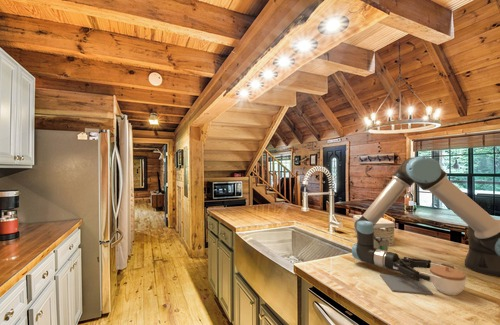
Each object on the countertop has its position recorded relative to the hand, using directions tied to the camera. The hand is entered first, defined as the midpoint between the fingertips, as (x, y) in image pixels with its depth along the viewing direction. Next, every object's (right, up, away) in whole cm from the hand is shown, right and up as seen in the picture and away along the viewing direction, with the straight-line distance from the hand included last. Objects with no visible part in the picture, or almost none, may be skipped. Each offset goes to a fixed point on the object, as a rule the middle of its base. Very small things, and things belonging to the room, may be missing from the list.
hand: (446, 276), depth 91 cm
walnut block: (+12, -6, +14) cm, 19 cm away
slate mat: (-13, -6, +6) cm, 15 cm away
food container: (-5, -7, +35) cm, 36 cm away
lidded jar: (0, -6, 0) cm, 6 cm away
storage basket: (+5, -8, +63) cm, 64 cm away
